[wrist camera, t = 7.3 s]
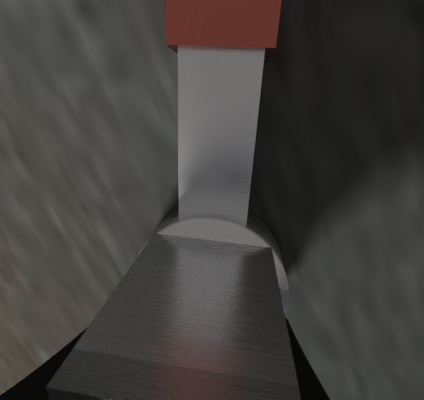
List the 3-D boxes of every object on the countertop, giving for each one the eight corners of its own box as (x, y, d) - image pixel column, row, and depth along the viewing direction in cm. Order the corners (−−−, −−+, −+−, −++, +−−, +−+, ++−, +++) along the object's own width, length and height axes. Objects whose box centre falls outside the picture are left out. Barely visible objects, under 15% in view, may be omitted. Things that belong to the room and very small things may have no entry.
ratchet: (271, 322, 14) (284, 421, 10) (151, 306, 15) (112, 392, 10) (360, -178, 7) (548, -635, 3) (125, -165, 8) (-29, -512, 3)
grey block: (271, 247, 10) (308, 436, 4) (255, 335, 12) (266, 551, 6) (153, 233, 10) (45, 387, 5) (155, 320, 12) (78, 508, 6)
